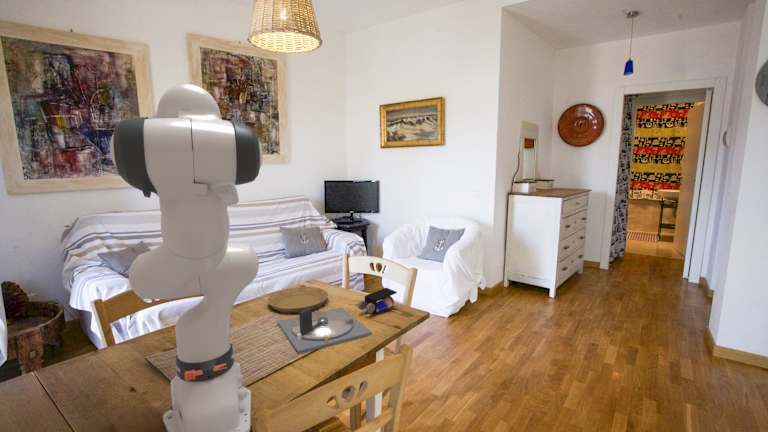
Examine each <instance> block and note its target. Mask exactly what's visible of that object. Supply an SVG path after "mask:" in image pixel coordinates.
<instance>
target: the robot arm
mask: <svg viewBox="0 0 768 432" xmlns="http://www.w3.org/2000/svg"><path fill="white" fill-rule="evenodd" d="M218 105H219V104H218V103H217V101H216V100H215V98H214V97H213V96H212V95H211V93H210V92H209V91H207V90H206V89H204V88H202V87H201V86H198V85H195V84H192V83H180V84H176V85H173V86H171V87H170V88H168V89H166V91H165V92H164V93H163V94H162V96H161V97H160V99H159V102H158V105H157V110H156V111H155V112H153V113H152V114H150V115H148V116H140V117H131V118H126V119H122V120H119V122H118V123H117V124H116V125H115V126H114V129H113V134H112V135H111V138H110V142H109V153H110V154H109V155H110V158H111V161H112V164H113V165H114V167H115V169H116V170H117V174H118V176H119V177H121V179H123V181H124V182H126V183H127V184H129V185H130V186H131V187H132V188H134V189H137V190H139V191H142V194H143V197H145V198H148V199H150V198H151V196H152V193H154V194H155V195H156V196H157V197H159V199H158V200H159V210H160V213H161V217H160V231H161V233H160V234H161V238H162V243H161V244H160V245H159V246H157V247H155V248H153V249H151V250H149V251H146V252H143V253H141V254H140V253H139V255H137V257H136V258H135V259H134V260H133V261H132V263H131V265H130V267H129V271H128V283H129V285H130V288H131V290H132V291H133V292H134V293H135V294H136V295H137V296H138V297H139V298H141V299H142V300H171V299H178V298H185V297H191V296H192V297H193V296H198V295H203V298H202V299H201V301H199V302H198V303H197V304H196V305H195V306H192V307H191V308H190V309H188V310H186V311H185V312H184V313H183V314H182V315H180V317H179V318H178V319H177V321H176V323H175V328H174V329H175V342H176V353H177V354H176V356H175V368H176V375H175V376H174V378H173V379H172V380H171V381H170V392H171V406H170V409H169V410H168V411H166V412H165V413H164V414H163V416H162V421H163V424H164V427H165V428H166V431H167V432H250V431H251V422H252V421H251V419H252V417H251V416H252V414H251V413H252V393H251V390H250V389H248V388H247V387H246V386H243V385H242V381H243V382H244V374H241V364H240V363H238V362H236V361H235V358H234V357H235V356H234V355H235V353H234V352H235V351H234V348H233V343H231V313H232V310H233V307H234V305H235V303H236V301H237V299H238V298H239V296H240V294H241V293H242V292H243V291H244V290H245V288H247V287H248V286H249V285H250V284H251V283H252V282H253V281H254V280H255V278H256V276H257V275H258V272H259V266H260V263H259V257H258V254H257V252H256V250H255V249H254V248H253V247H252V245H249V244H248V243H245V242H232V241H231V242H230V241H229V237H230V218H229V217H230V216H229V212H228V206H232V205H233V206H234V205H237V204H238V202H239V193H238V191H237V188H236V186H241V185H245V184H249V183H252V182H254V181H255V180H256V179H257V178H258V176H259V175H260V169H261V167H262V165H263V164H262V163H263V156H264V155H263V149H262V144H261V142H260V140H259V136H258V134H257V133H256V131H254V130H253V129H252V128H250V126H248V125H245V124H243V123H240V122H238V120H237V118H235V117H233V116H232V117H230V119H222V114H221V110H220V108H219V106H218Z"/></svg>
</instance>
